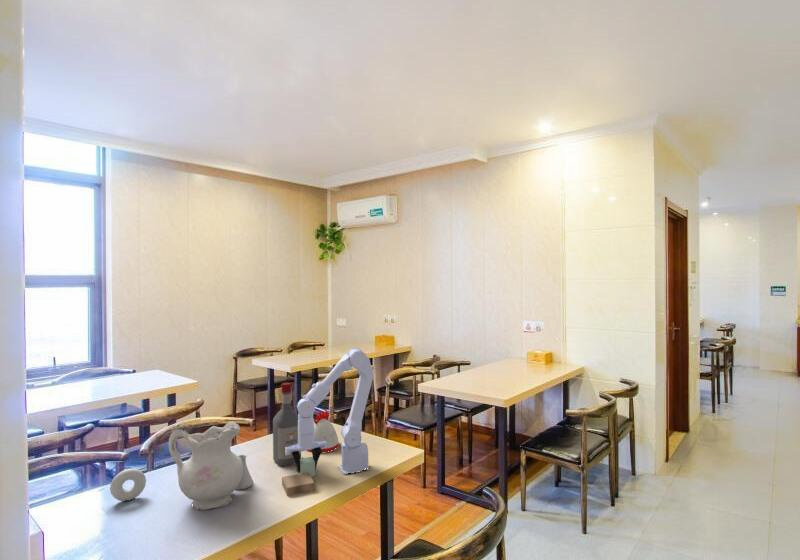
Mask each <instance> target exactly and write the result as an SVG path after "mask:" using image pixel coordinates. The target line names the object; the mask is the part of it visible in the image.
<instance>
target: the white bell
mask: <svg viewBox="0 0 800 560" xmlns="http://www.w3.org/2000/svg"><path fill="white" fill-rule="evenodd" d="M330 413H331V412H328V410H326V409H324V410H322V411H318V414H316V415H315V418H313V419H314V442H316V441H326V442H327V448H321V450H322V452H326V453H329V452H328V451H331V450H333V451H335V450H334V449H335V448H337V447H338V448H339V446H338V445H339V437H338V433H337V431H336V429H335V426H334V425H333V423H331V421H329V417H330ZM338 448H337V449H338ZM306 452H307V453H308V452H309V453H311V452H312V450H306ZM322 452H321V454H323V453H322ZM331 452H332V451H331Z"/></svg>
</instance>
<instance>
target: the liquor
mask: <svg viewBox="0 0 800 560" xmlns="http://www.w3.org/2000/svg"><path fill="white" fill-rule="evenodd" d="M280 391H281V407H280V410H278V411H277V413H276V415H275V416H274V417H273V418H272V446H273V447H272V448H273V449H272V453H273V454H272V455H273V457H272V459H273V461H274V463H275V464H276V465H277V466H278V467H288V466H289V467H290V466H292V465H296V463H295V460H294V458H293V456H292V454H291V453H289V454H286V453H285V447H289V446H293V445H296V444H298V413H297V412H296V411H295V410H294V409H293V406H292V383H291V382H283V383H281V389H280ZM299 454H300V459H302V451H300V452H299Z"/></svg>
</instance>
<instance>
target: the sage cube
mask: <svg viewBox="0 0 800 560" xmlns="http://www.w3.org/2000/svg"><path fill="white" fill-rule="evenodd" d="M307 472H308V473H309V475H310V476H311V477H315V476H316V470H315V461H314V460H313V456H309V457H303V458H302V457H301V459H300V473H298V472H297V474H301V473H307Z"/></svg>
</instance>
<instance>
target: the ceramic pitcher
mask: <svg viewBox="0 0 800 560" xmlns="http://www.w3.org/2000/svg"><path fill="white" fill-rule="evenodd" d="M186 428H187V426H186V425H183V426H182V425H181V426H175V427H174V428H173V430H172V433H171V434H170V436H169V438H168V451H169V454H170V456H171V458H172V461H173V462H174V463H175V464H176V466H177V467H176V468H177V479H178V486H179V489H180V491H181V492H182V494H184V496H185V497H186V498H188V499H189V500H192V501H193V502H192V501H191V505H192V504H193V507H192V508H194V509H196V508H197V509H196V510H198V509H200V510H199V511H201V510H202V511H203V510H209V509H215V508H219V507H225V506H227V505H229V504H231V503H232V502H233V499H232V496H231V494H232V493H234V491H236V488H237V486H238V485H239V483H240V481H241V479H242V476H243V463H242V460H241V458H240V457H239V455H237V454H236V453H234V452H233V451H232V449H231V442H232V440H233V439H234V438H235V437H236V436H238V435H241V432H242V431H241V429H242V428H241V426H240V425H239V424H238V423H237V422H236V421H233V420H232V421H228V422H227V423H226V424H225V425H224V426H223V427H221V426H220V427H219V426H215V425H213V426H211V427H209V428H207V430H205V431H204V432H203V433H201V432H195V433H191V434H189V433H188V430H187V429H186ZM179 438H184V439H185V440H186V441H187V442H188V443H189V445H190V448H191V456H190V458H188V459H187V460H186V462H184V463H183V460H182V457H181V455H180V452H179V450H178V449H177V440H178V439H179Z"/></svg>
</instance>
